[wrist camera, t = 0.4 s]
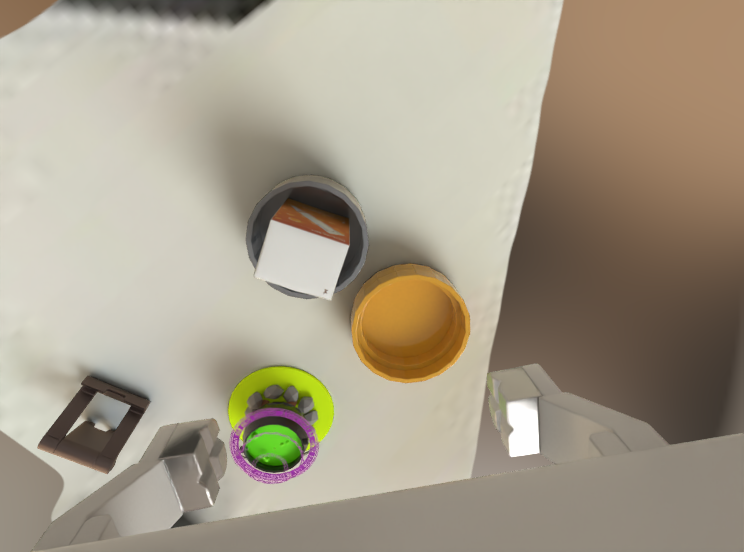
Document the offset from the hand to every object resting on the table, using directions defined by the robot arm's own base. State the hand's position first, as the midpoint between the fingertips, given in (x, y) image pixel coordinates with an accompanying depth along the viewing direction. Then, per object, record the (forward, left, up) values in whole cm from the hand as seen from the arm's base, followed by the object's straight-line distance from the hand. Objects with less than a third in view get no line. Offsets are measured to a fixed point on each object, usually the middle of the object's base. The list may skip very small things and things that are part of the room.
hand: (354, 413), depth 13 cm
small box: (+4, -5, -44) cm, 44 cm away
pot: (+4, -5, -44) cm, 44 cm away
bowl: (+17, +6, -44) cm, 48 cm away
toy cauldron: (+30, -13, -44) cm, 55 cm away
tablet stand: (+26, -36, -44) cm, 63 cm away
